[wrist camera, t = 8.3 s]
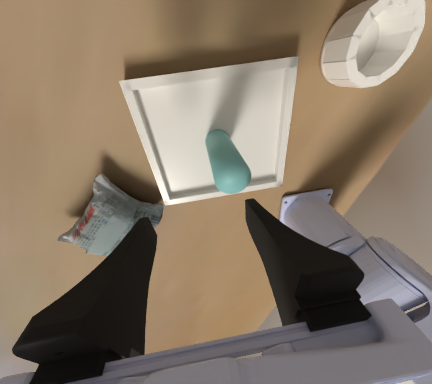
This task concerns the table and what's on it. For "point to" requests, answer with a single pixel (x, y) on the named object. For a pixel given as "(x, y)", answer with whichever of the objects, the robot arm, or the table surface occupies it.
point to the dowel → (226, 163)
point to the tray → (214, 123)
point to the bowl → (371, 42)
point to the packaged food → (109, 218)
